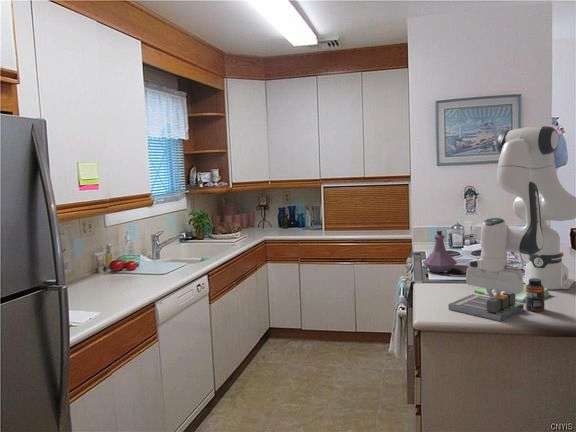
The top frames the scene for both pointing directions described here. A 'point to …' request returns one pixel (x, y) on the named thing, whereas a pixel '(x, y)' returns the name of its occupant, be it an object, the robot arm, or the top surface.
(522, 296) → the dish towel
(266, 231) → the top surface
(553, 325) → the top surface
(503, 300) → the breaker mid
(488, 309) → the block
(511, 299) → the block
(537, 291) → the supplement bottle
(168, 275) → the top surface
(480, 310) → the panel
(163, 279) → the top surface
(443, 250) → the flask
